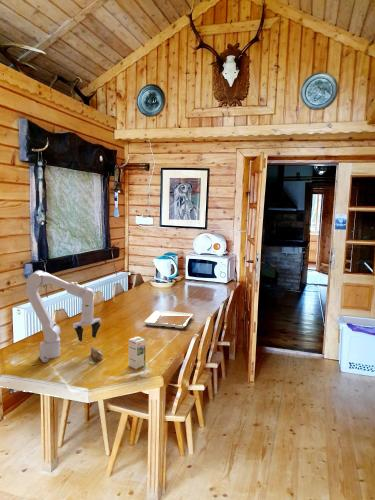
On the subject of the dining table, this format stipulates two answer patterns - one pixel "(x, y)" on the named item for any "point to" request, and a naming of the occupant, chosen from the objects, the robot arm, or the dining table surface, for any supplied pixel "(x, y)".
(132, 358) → the syrup box
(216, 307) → the dining table surface
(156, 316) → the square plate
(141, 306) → the dining table surface
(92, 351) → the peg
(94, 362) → the pale green tile
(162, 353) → the dining table surface
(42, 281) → the robot arm
